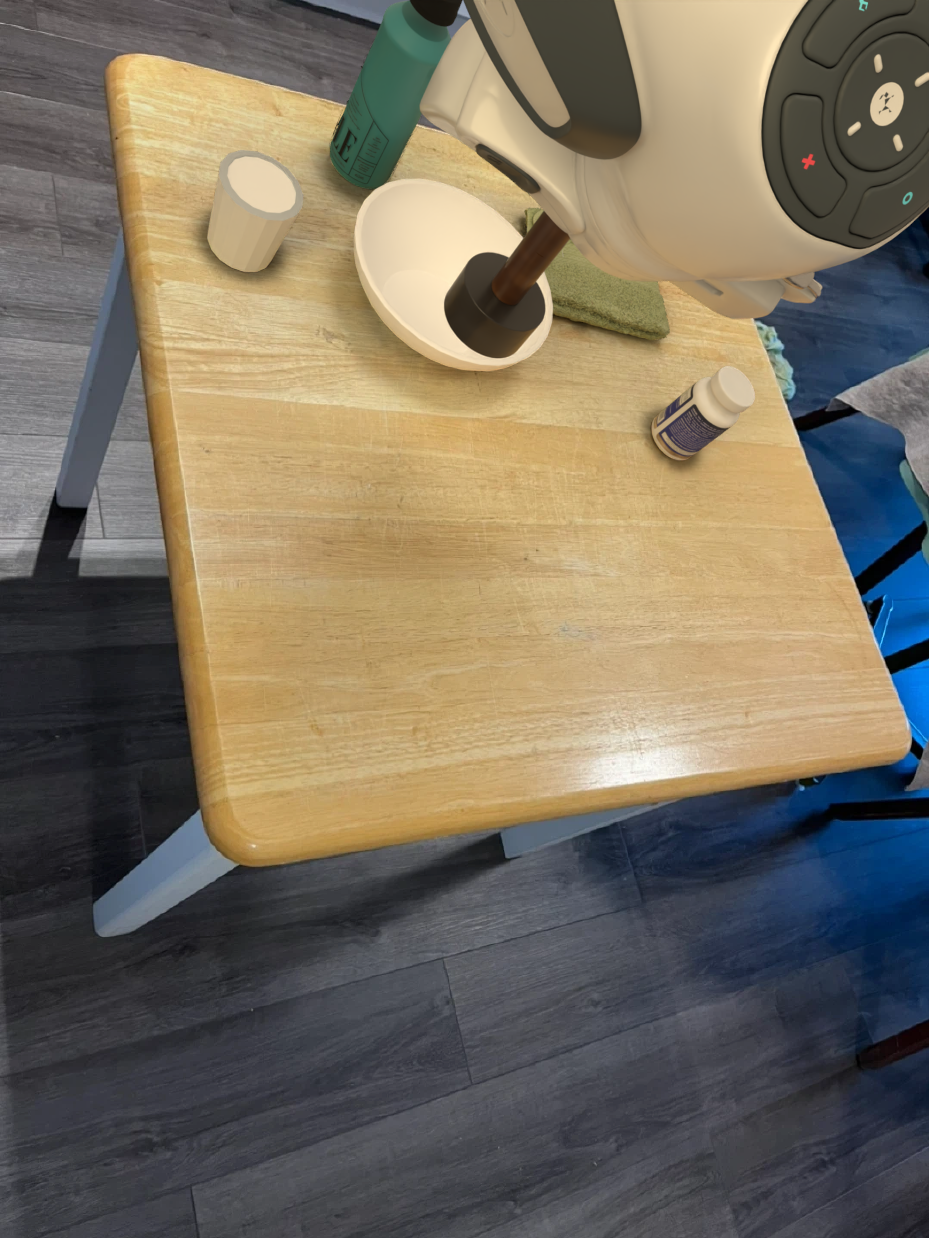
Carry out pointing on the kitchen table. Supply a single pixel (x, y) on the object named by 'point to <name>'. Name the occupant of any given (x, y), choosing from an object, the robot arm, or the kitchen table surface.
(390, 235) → the bowl
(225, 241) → the shot glass
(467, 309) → the paper towel holder
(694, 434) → the pill bottle
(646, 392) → the kitchen table surface
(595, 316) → the washcloth
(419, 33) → the beverage bottle
